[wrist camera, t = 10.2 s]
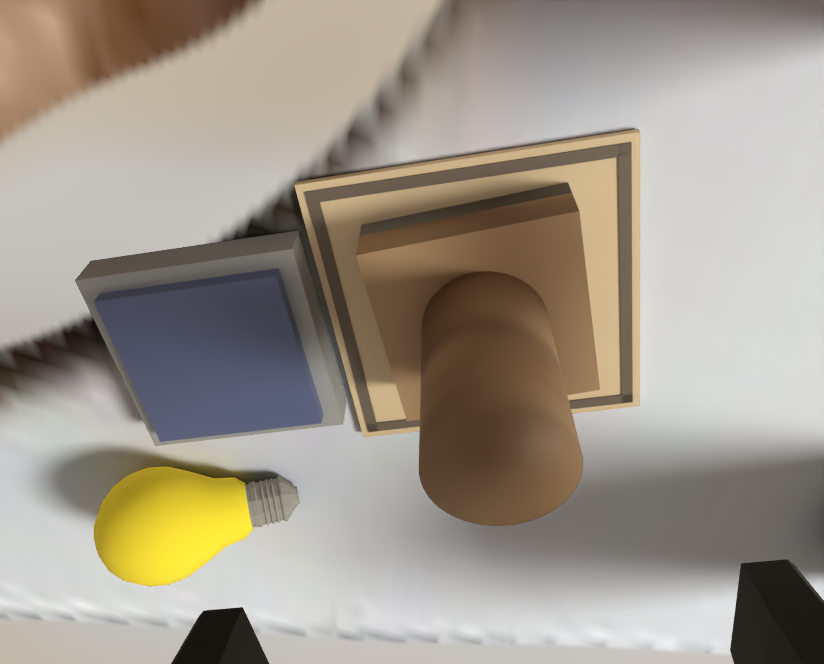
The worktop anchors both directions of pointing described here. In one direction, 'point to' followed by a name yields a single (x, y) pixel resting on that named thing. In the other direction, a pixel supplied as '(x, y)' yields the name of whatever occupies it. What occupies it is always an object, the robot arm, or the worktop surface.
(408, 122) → the worktop surface
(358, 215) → the card sheet
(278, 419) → the ink pad
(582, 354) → the stamp
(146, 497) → the light bulb
